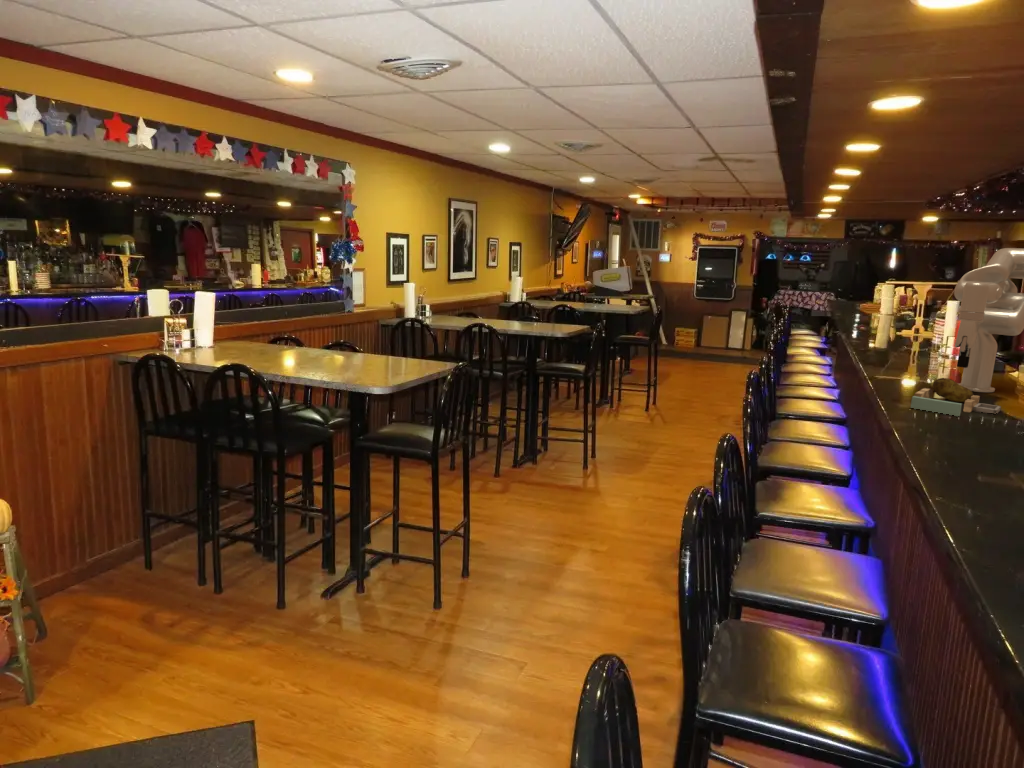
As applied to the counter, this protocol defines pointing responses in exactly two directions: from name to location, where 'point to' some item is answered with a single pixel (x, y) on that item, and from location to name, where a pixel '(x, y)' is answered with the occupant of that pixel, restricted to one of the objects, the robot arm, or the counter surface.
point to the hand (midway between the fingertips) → (962, 367)
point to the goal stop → (936, 405)
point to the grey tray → (986, 408)
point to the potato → (951, 390)
